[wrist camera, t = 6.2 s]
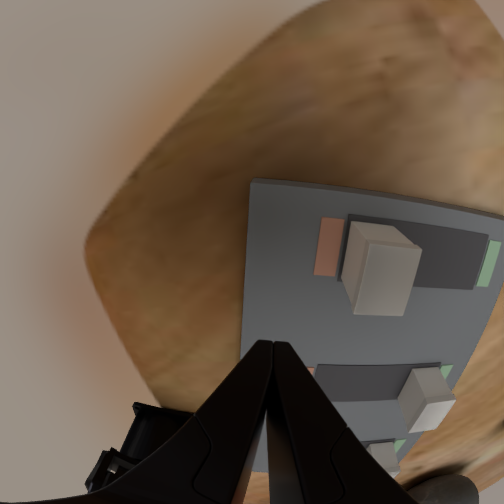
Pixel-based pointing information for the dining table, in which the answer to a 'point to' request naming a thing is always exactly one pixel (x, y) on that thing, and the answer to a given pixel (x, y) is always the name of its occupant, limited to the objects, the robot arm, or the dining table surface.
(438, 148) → the dining table surface
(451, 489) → the bowl
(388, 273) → the handle
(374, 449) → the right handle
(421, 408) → the middle handle
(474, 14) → the dining table surface
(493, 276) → the breaker panel
